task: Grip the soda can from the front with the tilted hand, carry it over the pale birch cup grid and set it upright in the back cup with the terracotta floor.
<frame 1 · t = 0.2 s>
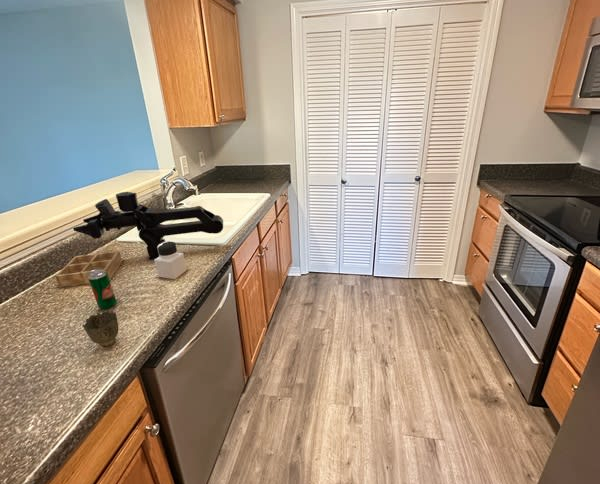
hand: (78, 224, 122), 17 cm above the countertop, tool horizontal, fingers open, 9 cm apart
medicine bottle: (173, 274, 118), on the countertop
soda can: (108, 306, 100), on the countertop
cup: (108, 344, 84), on the countertop
grid: (93, 273, 121), on the countertop
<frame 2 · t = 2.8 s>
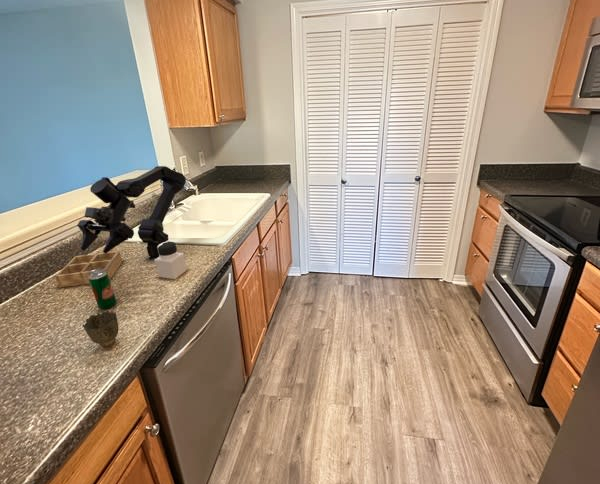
hand: (93, 251, 103), 14 cm above the countertop, tool tilted 55°, fingers open, 9 cm apart
nothing on the countertop moved.
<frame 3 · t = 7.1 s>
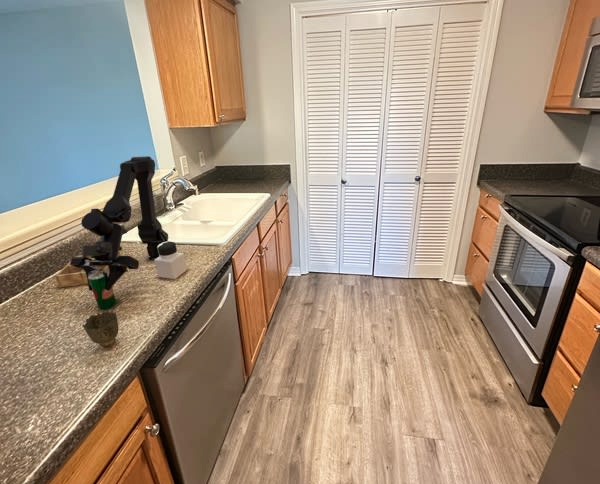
hand: (99, 290, 96), 7 cm above the countertop, tool tilted 45°, fingers closed on soda can, 5 cm apart
soda can: (108, 306, 100), on the countertop, touching gripper
everything else where it was.
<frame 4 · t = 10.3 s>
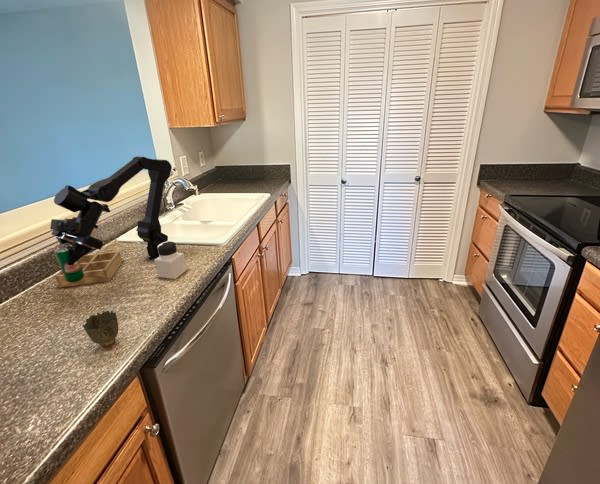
hand: (64, 263, 101), 12 cm above the countertop, tool tilted 45°, fingers closed on soda can, 5 cm apart
soda can: (76, 279, 105), point 6 cm above the countertop, touching gripper
everything else where it was.
when the fingers open (7 cm above the countertop, at t = 13.8 s): soda can stays where it is, resting on grid.
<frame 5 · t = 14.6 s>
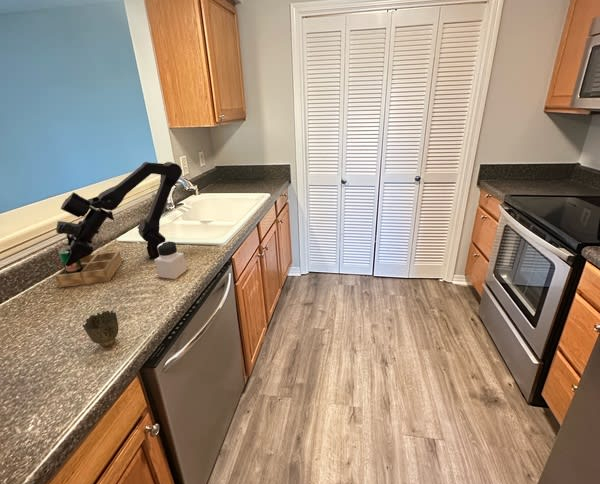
hand: (65, 261, 113), 8 cm above the countertop, tool tilted 45°, fingers open, 9 cm apart
soda can: (77, 278, 117), point 1 cm above the countertop, touching grid
everything else where it was.
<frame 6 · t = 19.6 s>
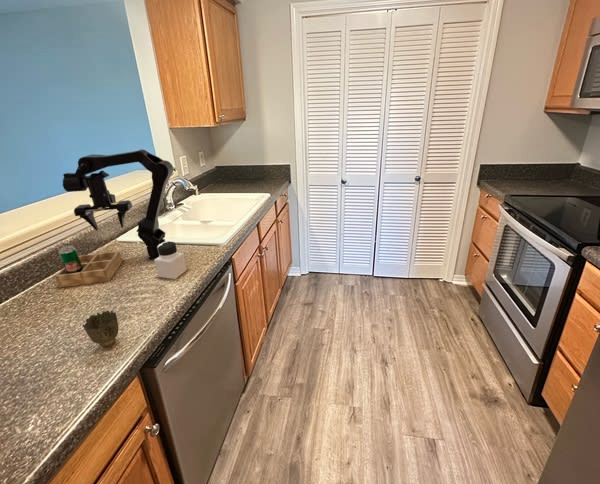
hand: (110, 228, 126), 13 cm above the countertop, tool pointing down, fingers open, 9 cm apart
nothing on the countertop moved.
at the end: soda can 0.2 cm from the target spot in the grid, point 0.5 cm above the grid's base; soda can tilted 0°; the gripper is holding nothing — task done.
